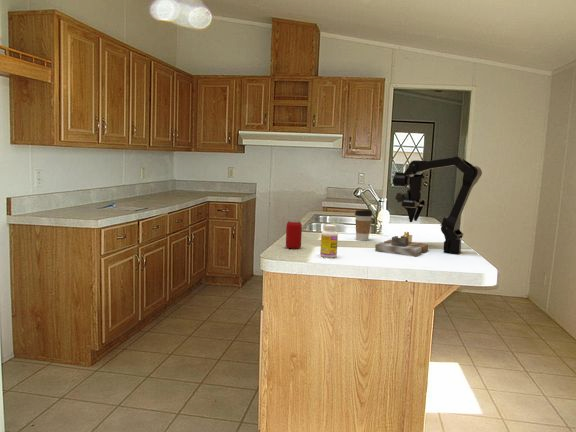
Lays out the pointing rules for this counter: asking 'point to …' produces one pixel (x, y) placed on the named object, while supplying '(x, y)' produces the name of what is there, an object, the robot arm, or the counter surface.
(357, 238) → the coffee cup
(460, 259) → the counter surface
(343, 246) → the counter surface
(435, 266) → the counter surface
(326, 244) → the supplement bottle
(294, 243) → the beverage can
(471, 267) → the counter surface
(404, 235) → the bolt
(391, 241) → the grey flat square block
